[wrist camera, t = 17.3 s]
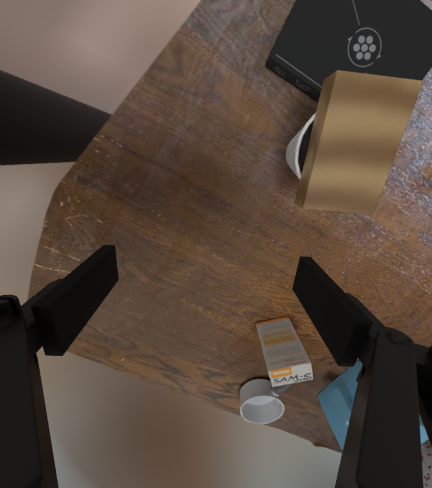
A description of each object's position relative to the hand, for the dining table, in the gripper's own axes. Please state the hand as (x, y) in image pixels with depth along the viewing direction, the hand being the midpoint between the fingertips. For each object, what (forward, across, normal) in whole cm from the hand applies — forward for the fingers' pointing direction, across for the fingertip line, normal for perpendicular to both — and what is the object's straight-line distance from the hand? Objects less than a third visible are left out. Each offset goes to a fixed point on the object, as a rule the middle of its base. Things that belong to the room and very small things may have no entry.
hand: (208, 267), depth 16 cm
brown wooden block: (+16, +16, +9) cm, 24 cm away
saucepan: (+28, +19, -49) cm, 60 cm away
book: (+28, +20, +23) cm, 42 cm away
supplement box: (+28, +17, -30) cm, 45 cm away
